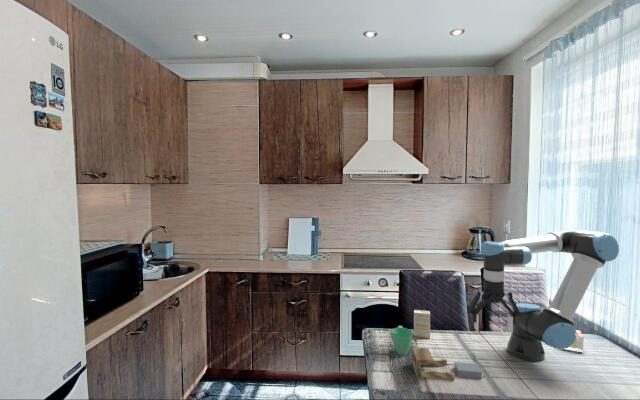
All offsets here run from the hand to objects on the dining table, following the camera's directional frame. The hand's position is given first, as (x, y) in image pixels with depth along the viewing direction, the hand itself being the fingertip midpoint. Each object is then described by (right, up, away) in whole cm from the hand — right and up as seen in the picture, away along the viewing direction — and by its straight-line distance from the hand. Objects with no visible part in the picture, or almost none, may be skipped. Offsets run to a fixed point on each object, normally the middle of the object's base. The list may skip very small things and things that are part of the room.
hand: (493, 330), depth 137 cm
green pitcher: (-33, -18, +22) cm, 44 cm away
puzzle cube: (+51, -18, +24) cm, 59 cm away
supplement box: (-18, -18, +37) cm, 45 cm away
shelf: (-24, -19, +3) cm, 31 cm away
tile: (-10, -19, +1) cm, 22 cm away
